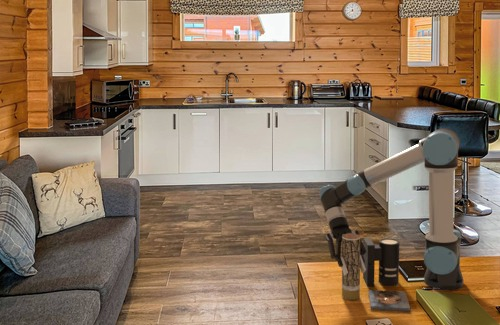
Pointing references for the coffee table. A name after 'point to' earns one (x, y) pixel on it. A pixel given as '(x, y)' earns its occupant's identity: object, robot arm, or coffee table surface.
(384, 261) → the light fixture
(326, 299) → the coffee table surface
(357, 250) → the paper tube
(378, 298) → the plate
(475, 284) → the coffee table surface
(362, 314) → the coffee table surface
